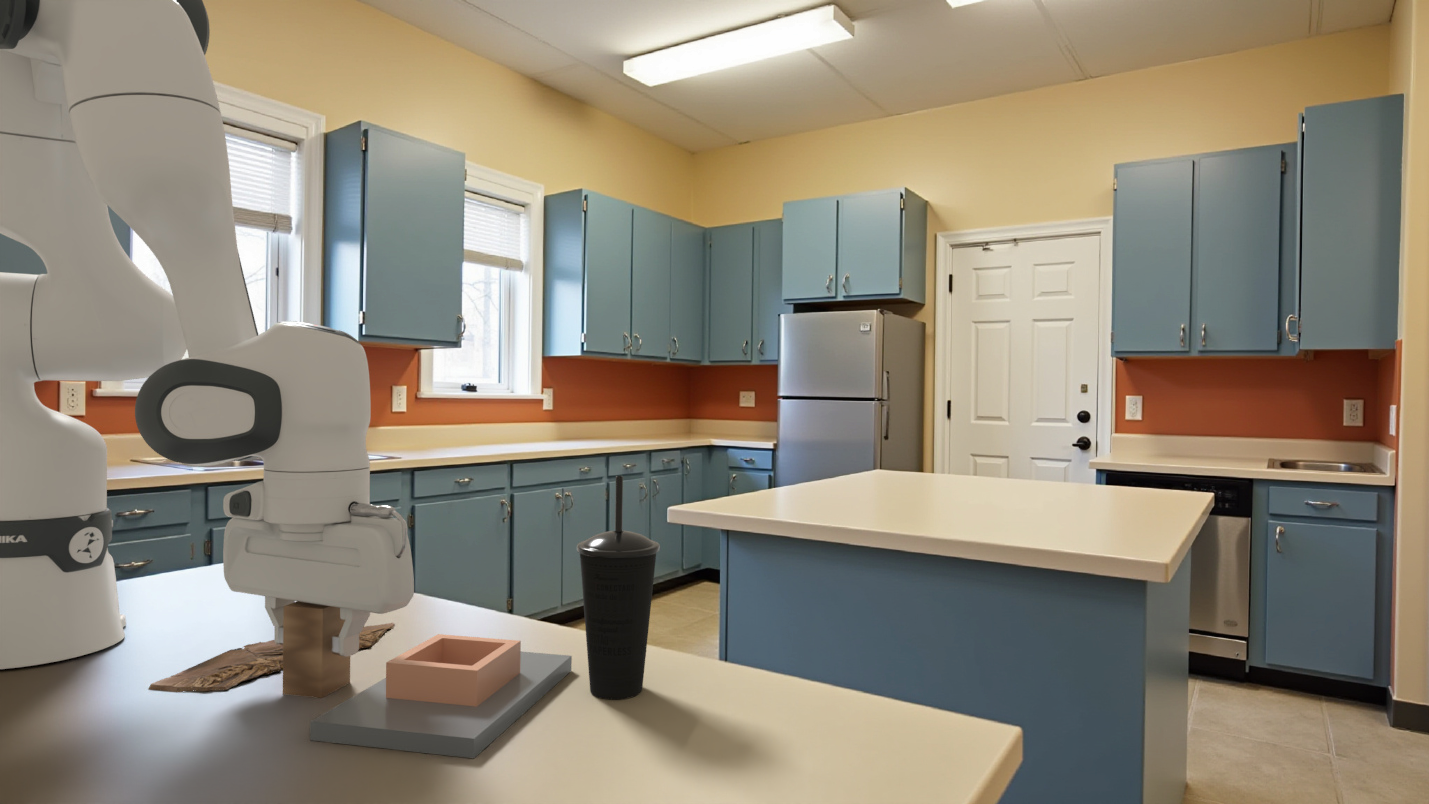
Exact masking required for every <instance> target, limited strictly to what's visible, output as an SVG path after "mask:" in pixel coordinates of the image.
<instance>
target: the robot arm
mask: <svg viewBox="0 0 1429 804" xmlns="http://www.w3.org/2000/svg"><path fill="white" fill-rule="evenodd" d="M210 31H211V30H210V19H209V15H208V12H207V9H206V6H205V4H204V1H203V0H0V234H1V235H2V236H5V237H6V238H9V239H12V240H14V241H15V242H18V243H21V244H23V245H25V246H27V247H29V248H30V249H31V250H33V251H34V253H36V255H37V256H38V257H39V258H40V260H42V262H43V264H44V266H45V268H46V272H47V273H40V274H31V273H19V272H18V273H16V272H5V271H4V272H1V271H0V670H5V669H6V670H7V669H15V668H24V667H31V666H32V667H33V666H38V665H44V664H49V663H54V662H60V661H65V660H69V659H75V658H77V657H82V656H84V655H88V654H92V653H95V652H99V651H101V650H104V649H107V648H109V647H112V646H114V645H115V644H117V643H119V642H121V641H122V640H123V639H124V638H125V636H126V633H125V631H124V627H125V626H126V625H127V619H126V615H125V614H121V610H120V602H119V595H118V594H119V593H118V586H117V584H118V583H117V577H116V570H115V569H116V568H115V562H114V561H115V560H114V558H113V556H112V555H111V554H110V552H109V548H108V547H109V544H110V543H111V542H112V540H113V528H114V520H113V519H112V518H113V517H112V516H113V515H112V510H111V509H110V508H109V507H108V504H107V503H108V502H107V501H108V493H107V492H108V491H107V490H108V483H107V482H108V446H107V444H106V443H107V442H106V441H105V439H104V438H103V436H102V434H101V433H100V432H99V431H98V430H97V429H96V428H94V427H93V426H91V425H89V424H88V423H86V422H84V421H81V420H80V419H77V418H75V417H73V416H70V415H67V414H66V413H63V412H61V411H57V410H55V409H51V408H49V407H48V406H45V404H43V403H42V402H41V401H40V399H39V398H38V396H37V393H36V391H35V383H36V382H42V381H65V382H66V381H71V382H73V381H74V382H76V381H77V382H78V381H79V382H123V381H131V380H139V379H145V378H146V380H145V381H144V383H143V384H142V386H141V387H140V390H139V391H138V394H137V395H136V396H137V397H136V399H135V403H134V404H135V405H134V416H135V423H136V427H137V429H138V432H139V434H140V436H141V438H142V440H144V442H145V443H146V444H147V445H148V447H150V449H151V450H153V451H154V452H155V453H156V454H158V455H159V456H161V457H163V458H165V459H167V460H170V461H172V462H176V463H179V464H183V465H188V466H195V467H210V466H218V465H220V464H227V463H228V464H229V463H231V462H246V461H251V460H252V461H253V460H256V459H260V460H262V462H263V480H261V481H257V482H255V483H253V484H250V485H248V486H245V487H242V488H240V489H239V488H238V489H237V490H233V491H230V492H229V493H228V492H227V493H226V494H225V495H224V497H223V500H222V502H223V504H222V506H223V508H222V509H223V513H224V515H225V516H227V517H228V518H231V519H229V520H228V522H227V523H226V525H225V528H224V531H223V533H224V534H223V546H222V547H223V553H222V556H223V557H222V559H223V561H222V563H223V578H224V580H225V582H226V584H227V586H228V588H229V589H230V591H232V592H234V593H242V594H243V593H244V594H248V595H255V596H262V597H264V608H265V610H266V613H267V615H268V617H269V619H270V621H271V623H272V625H273V627H274V640H275V643H276V644H279V645H283V612H284V606H285V605H288V604H291V603H294V602H297V601H299V602H306V603H312V604H319V605H325V606H332V607H338V608H340V618H341V619H343V620H345V622H344V625H343V627H342V629H341V632H340V634H338V635H335V636H332V645H333V647H332V653H333V654H334V655H339V656H344V657H348V656H350V657H351V656H353V655H356V654H357V653H358V652H359V650H360V649H359V633H361V631H362V629H363V627H365V625H366V623H367V622H368V620H369V618H370V617H371V616H370V615H371V613H372V614H379V615H383V614H387V613H388V614H389V613H391V612H394V611H397V610H400V609H403V608H405V607H407V606H408V605H409V603H410V601H412V599H413V597H414V594H415V580H414V567H413V557H412V551H411V545H410V539H409V536H408V524H407V521H406V520H405V519H404V517H403V516H402V515H401V514H400V513H399V512H398V511H396V508H395V507H393V506H391V505H386V504H384V505H383V504H381V505H374V504H371V502H370V498H371V497H370V491H371V490H370V489H371V487H370V484H371V483H370V482H371V476H370V475H371V474H370V473H371V461H370V457H369V454H368V452H367V451H368V450H367V444H366V442H367V434H368V430H369V427H370V424H371V415H372V413H371V410H372V409H371V408H372V407H371V406H372V405H371V404H372V402H371V381H370V371H369V362H368V357H367V354H366V351H365V348H364V347H363V345H362V344H361V343H360V341H359V340H357V339H356V337H354V336H352V335H351V334H349V333H348V332H345V331H344V330H343V331H342V330H341V329H335V328H332V327H329V326H324V325H321V324H320V325H319V324H315V323H310V322H309V323H308V322H305V321H304V322H302V321H296V320H283V321H278V322H275V323H274V324H273V325H272V326H270V327H269V328H268V329H266V330H265V331H263V332H262V333H259V332H258V328H257V323H256V319H255V316H254V312H253V308H252V303H251V300H250V296H249V292H248V286H247V283H246V279H245V275H244V270H243V267H242V262H241V258H240V254H239V249H238V241H237V232H236V225H235V216H234V215H235V214H234V205H233V196H232V194H233V193H232V184H231V182H232V181H231V170H230V163H229V162H230V161H229V155H228V154H229V153H228V147H227V146H228V145H227V139H226V132H225V128H224V127H225V126H224V123H223V117H222V113H221V108H220V103H219V99H218V94H217V91H216V88H215V85H214V81H213V80H214V79H213V77H212V74H211V71H210V70H211V69H210V67H209V65H208V61H207V59H206V54H207V52H208V47H209V42H210ZM108 207H109V208H108ZM109 209H111V210H112V211H113V212H114V213H115V214H116V215H117V216H118V217H119V218H120V219H121V220H123V222H124V223H125V224H126V225H127V226H128V227H129V228H130V229H131V230H132V231H134V233H135V234H137V236H138V237H139V238H140V239H141V241H143V243H144V244H145V245H146V246H147V248H149V249H150V251H151V252H152V253H153V255H154V257H155V258H156V259H157V261H158V262H159V264H160V266H161V268H162V269H163V272H164V274H165V275H166V278H167V280H168V283H169V284H168V285H169V287H170V289H171V293H172V294H171V293H170V292H169V291H168V290H167V289H165V288H163V287H162V286H160V285H158V284H157V283H156V282H154V280H152V279H151V278H150V277H148V276H147V275H146V274H145V273H143V271H142V270H140V268H139V267H138V266H137V265H136V264H135V263H134V262H133V260H132V259H131V258H130V256H129V255H128V254H127V253H126V252H125V249H124V248H123V246H122V245H121V243H120V241H119V240H118V237H117V235H116V233H115V231H114V227H113V225H112V221H111V217H110V213H109ZM186 352H187V354H188V357H185V358H183V357H184V356H185V354H186ZM394 517H395V518H394Z"/></svg>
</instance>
